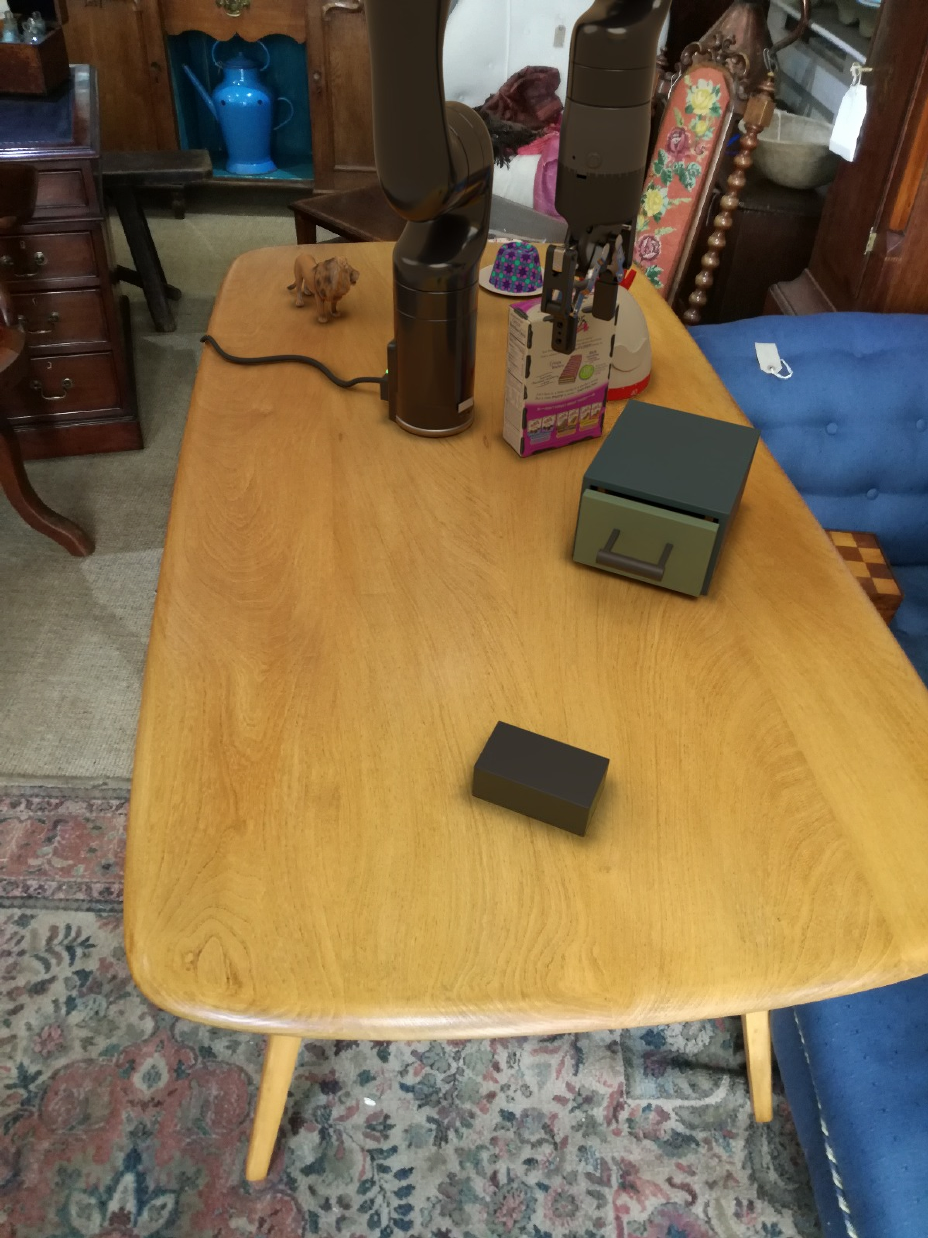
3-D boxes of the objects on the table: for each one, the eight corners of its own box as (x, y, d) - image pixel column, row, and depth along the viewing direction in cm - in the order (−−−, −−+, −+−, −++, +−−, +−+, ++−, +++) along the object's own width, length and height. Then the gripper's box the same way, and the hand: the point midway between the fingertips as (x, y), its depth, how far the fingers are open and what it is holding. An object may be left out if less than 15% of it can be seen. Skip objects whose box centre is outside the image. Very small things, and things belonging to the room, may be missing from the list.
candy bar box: (579, 416, 112) (597, 283, 101) (602, 437, 109) (623, 301, 98) (498, 437, 108) (507, 301, 97) (520, 459, 105) (531, 320, 94)
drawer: (686, 630, 84) (704, 563, 79) (556, 591, 87) (564, 524, 82) (730, 513, 97) (748, 449, 92) (615, 483, 100) (626, 420, 95)
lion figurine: (366, 321, 128) (364, 256, 122) (336, 333, 126) (332, 267, 120) (302, 287, 136) (296, 224, 130) (271, 297, 133) (264, 233, 127)
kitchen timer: (520, 361, 122) (529, 246, 111) (605, 339, 127) (621, 227, 117) (583, 411, 113) (599, 291, 103) (671, 384, 118) (695, 268, 108)
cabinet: (706, 595, 89) (729, 514, 82) (571, 556, 92) (583, 475, 86) (739, 507, 99) (761, 429, 93) (616, 475, 103) (629, 398, 96)
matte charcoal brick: (471, 795, 71) (473, 766, 69) (496, 748, 74) (498, 719, 72) (583, 837, 69) (589, 809, 66) (604, 787, 72) (610, 758, 70)
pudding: (568, 277, 142) (571, 242, 138) (537, 307, 134) (540, 271, 130) (496, 261, 145) (498, 226, 142) (462, 289, 137) (463, 253, 134)
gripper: (599, 128, 85) (581, 299, 96) (522, 169, 77) (512, 353, 88) (675, 142, 83) (648, 317, 94) (605, 186, 74) (584, 374, 85)
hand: (583, 334), depth 91 cm, fingers open, 8 cm apart
